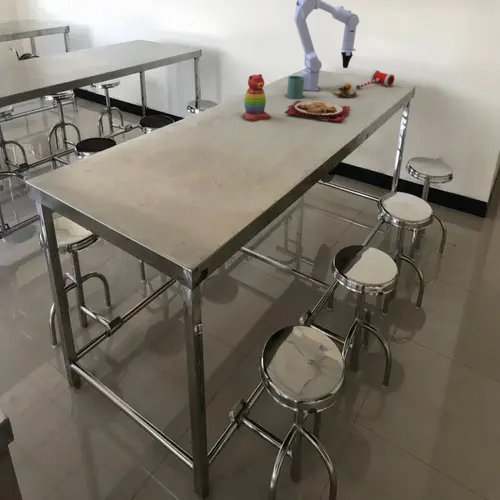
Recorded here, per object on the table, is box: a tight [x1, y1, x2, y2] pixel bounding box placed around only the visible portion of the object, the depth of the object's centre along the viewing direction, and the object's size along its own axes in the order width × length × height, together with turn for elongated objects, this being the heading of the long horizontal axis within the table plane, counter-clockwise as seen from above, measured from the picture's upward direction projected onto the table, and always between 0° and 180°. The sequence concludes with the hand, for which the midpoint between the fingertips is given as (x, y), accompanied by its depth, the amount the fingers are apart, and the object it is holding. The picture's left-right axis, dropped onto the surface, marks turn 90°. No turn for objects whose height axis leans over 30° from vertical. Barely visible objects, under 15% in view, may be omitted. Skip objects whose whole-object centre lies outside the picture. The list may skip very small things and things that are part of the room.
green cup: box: [286, 75, 304, 100], centre depth 240 cm, size 8×8×9 cm
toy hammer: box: [355, 69, 395, 90], centre depth 261 cm, size 23×12×6 cm, turn 127°
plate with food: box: [284, 99, 351, 123], centre depth 222 cm, size 24×26×4 cm
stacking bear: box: [243, 73, 270, 122], centre depth 209 cm, size 11×10×18 cm
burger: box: [332, 80, 357, 98], centre depth 245 cm, size 12×12×8 cm
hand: (345, 67), depth 253 cm, fingers closed
